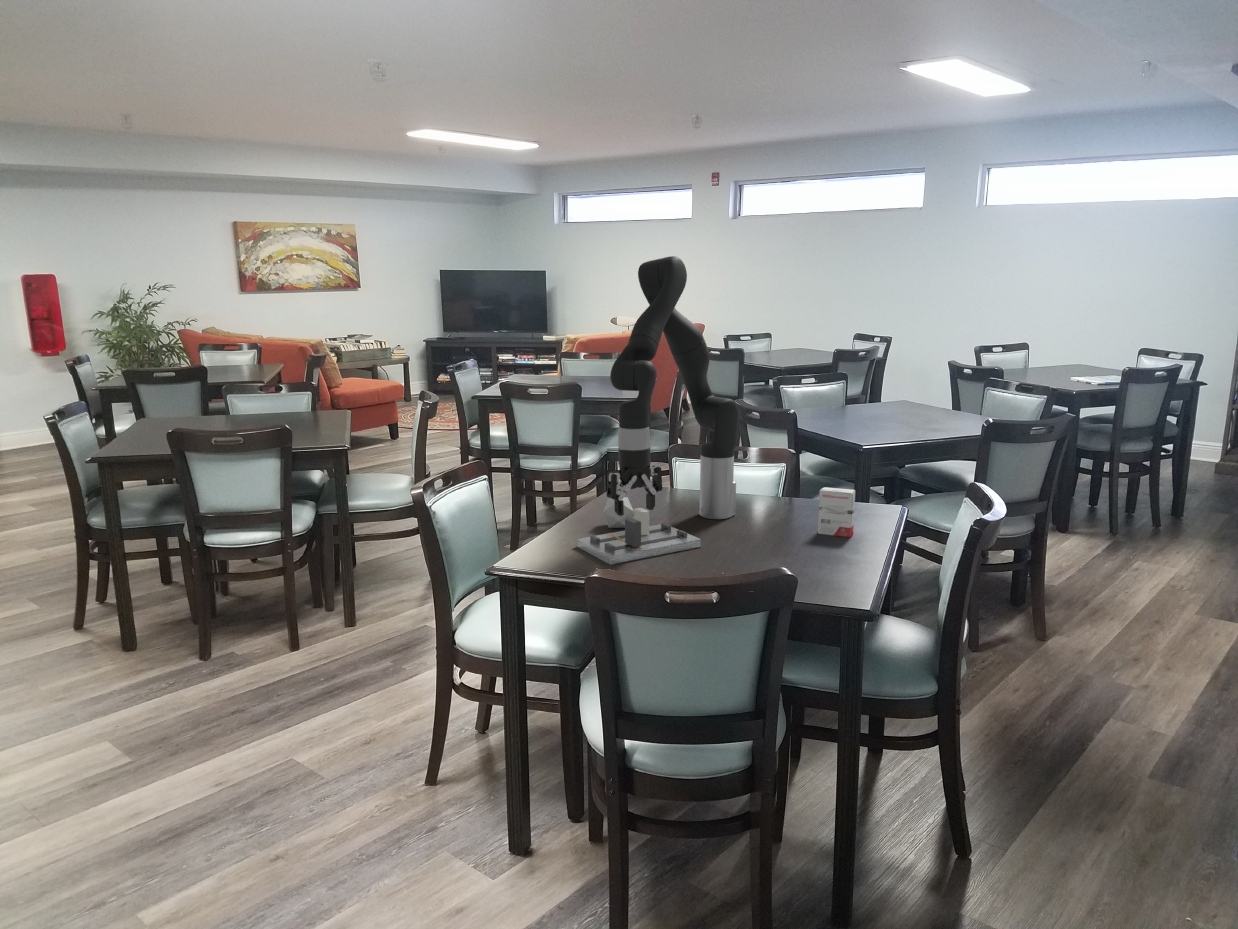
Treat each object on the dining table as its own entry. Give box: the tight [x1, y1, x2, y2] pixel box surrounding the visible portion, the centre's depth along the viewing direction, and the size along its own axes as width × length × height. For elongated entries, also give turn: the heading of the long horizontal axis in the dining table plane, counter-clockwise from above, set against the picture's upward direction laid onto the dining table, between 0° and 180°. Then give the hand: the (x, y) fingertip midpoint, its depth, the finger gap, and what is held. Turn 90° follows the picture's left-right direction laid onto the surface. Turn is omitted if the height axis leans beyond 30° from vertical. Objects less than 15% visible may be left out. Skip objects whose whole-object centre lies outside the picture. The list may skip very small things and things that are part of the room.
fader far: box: [633, 507, 650, 536], centre depth 211 cm, size 2×4×6 cm, turn 31°
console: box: [576, 522, 702, 566], centre depth 208 cm, size 26×16×3 cm, turn 121°
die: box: [602, 496, 634, 529], centre depth 225 cm, size 8×9×10 cm
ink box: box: [817, 486, 856, 538], centre depth 218 cm, size 9×5×12 cm, turn 65°
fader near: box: [624, 517, 641, 547], centre depth 202 cm, size 2×4×6 cm, turn 31°
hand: (635, 512), depth 201 cm, fingers open, 8 cm apart
